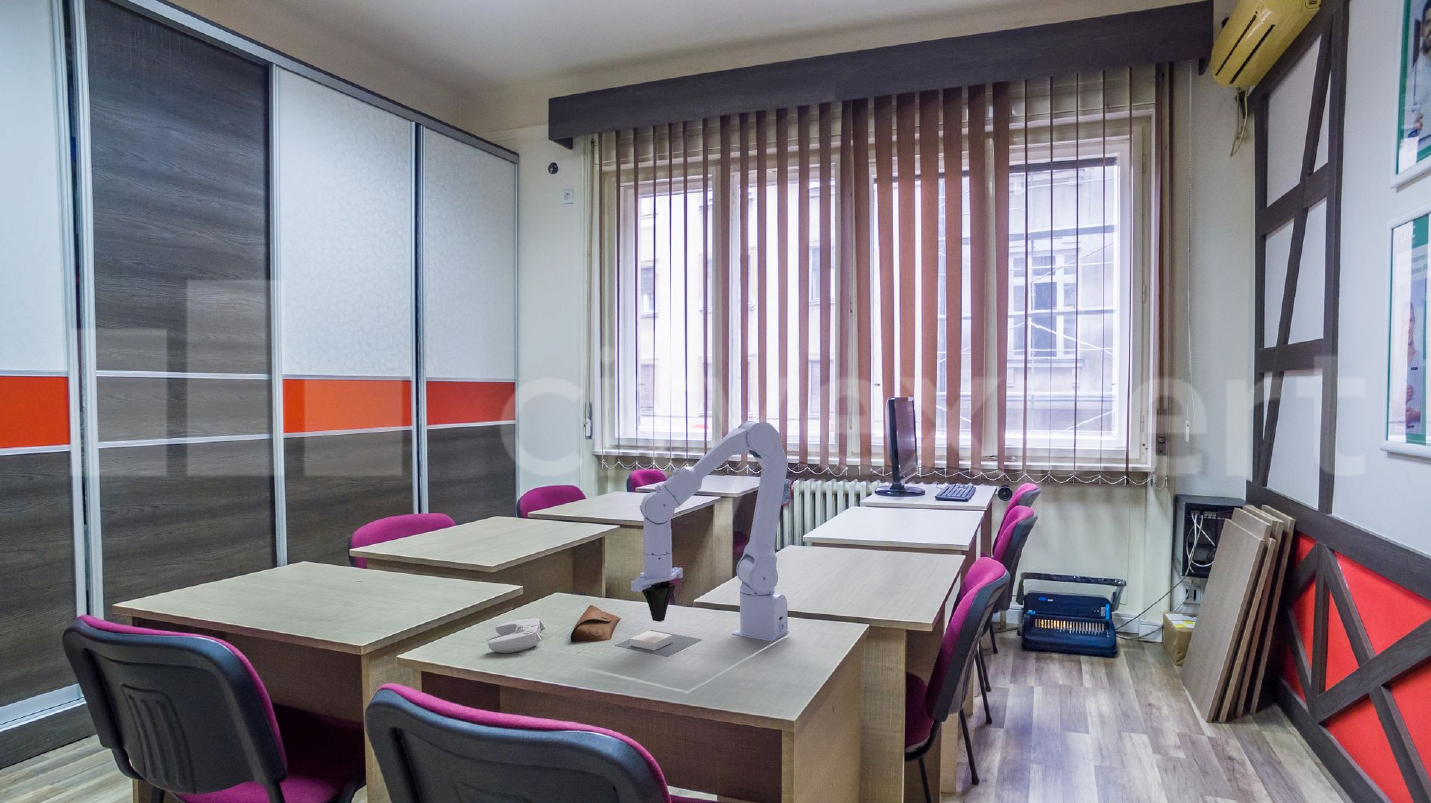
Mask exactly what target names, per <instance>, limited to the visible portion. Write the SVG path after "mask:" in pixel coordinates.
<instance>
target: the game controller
mask: <svg viewBox="0 0 1431 803" xmlns="http://www.w3.org/2000/svg"><path fill="white" fill-rule="evenodd" d="M545 629H546V626H545V624H544V622H543V620H541V618H524V619H517V620H516V619H515V620H510V621H506V622H504V623H503V622H502V623H500V624H498V625H497V626H495V632H496V633H497V634H498V635H500V636H498V637H495V638H492V639H490V640H488V641H487V645H488V648H489V649H490V650H491V651H493V652H495V653H500V654H510V653H518V652H519V653H520V652H521V651H524V650H529V649H531V648H533V647H535V646H537V645H538V643H539V642H541V640H542V638H541V633H543V631H544V630H545Z"/></svg>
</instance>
